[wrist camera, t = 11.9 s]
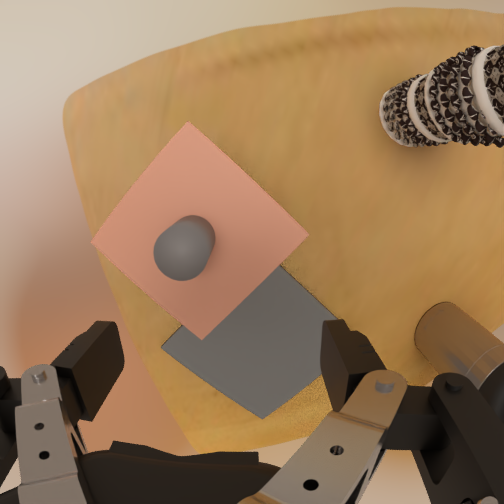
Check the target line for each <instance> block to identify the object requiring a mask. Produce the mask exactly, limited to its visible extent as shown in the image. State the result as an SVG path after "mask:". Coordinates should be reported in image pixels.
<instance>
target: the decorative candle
mask: <svg viewBox="0 0 504 504" xmlns="http://www.w3.org/2000/svg"><path fill="white" fill-rule="evenodd" d="M379 117H380V120H381V123H382V127H383V128H384V130H385V131H386V133H387V134H388V135H389V137H390V138H391V139H393V140H394V141H396V142H397V143H398V144H400V145H404V146H408V147H413V146H414V147H418V145H419V146H420V147H423V146H425V145H427V146H431V145H432V144H433V145H434V146H438V145H439V144H440V143H441V144H447V143H448V142H449V141H454V142H458V143H461V144H464V145H466V144H468V143H469V142H471V143H472V144H473V145H474V146H477V145H479V143H481V144H484V145H485V146H489V145H490V144H491V143H493V144H495V145H496V146H497V147H499V148H501V147H503V145H504V138H501V137H502V136H504V45H502V46H491V47H489V48H486V49H484V48H482V47H477V46H471V47H470V48H467V49H466V50H465V53H464V52H459V53H458V54H457V56H456V57H451V58H449V59H447V60H446V62H442V63H440V64H439V65H438V66H437V67H435V68H434V69H433V70H431V71H430V72H429V74H425V75H423V76H422V75H416V76H415V78H410V79H409V80H406V81H403V82H402V83H399V84H397V85H396V86H395V87H392V88H391V89H390V90H388V91H387V92H385V93H384V95H383V97H382V99H381V101H380V103H379Z"/></svg>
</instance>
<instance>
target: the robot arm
mask: <svg viewBox="0 0 504 504" xmlns="http://www.w3.org/2000/svg"><path fill="white" fill-rule="evenodd" d="M415 343H416V346H417V348H418V349H419V350H420V351H421V352H422V354H423V355H424V356H425V357H426V358H427V360H428V361H429V362H430V363H431V365H432V366H433V367H434V368H435V369H436V371H437V372H438V373H439V374H440V375H438V376H436V377H435V379H434V380H433V383H432V387H425V386H410V385H407V381H406V379H405V378H404V377H403V376H402V375H400V374H399V373H396V372H394V371H389V370H387V369H386V367H385V366H384V364H383V362H382V361H381V359H380V357H379V356H378V354H377V353H376V352H375V349H374V348H373V346H371V343H370V341H369V340H368V338H367V337H366V336H365V335H363V334H362V333H360V332H358V331H350V330H349V328H348V326H347V325H346V323H345V321H344V320H343V319H338V320H324V321H323V325H322V337H321V351H320V367H321V372H322V376H323V379H324V382H325V385H326V389H327V392H328V395H329V398H330V402H331V405H332V408H333V410H332V411H331V412H329V413H328V415H327V416H326V417H325V418H324V419H323V421H322V422H321V423H320V424H319V426H318V427H317V428H316V429H315V431H314V432H313V433H312V434H311V435H310V436H309V438H308V439H307V440H306V441H305V442H304V444H303V445H302V446H301V447H300V448H299V449H298V451H297V452H296V453H295V454H294V455H293V456H292V457H291V458H290V459H289V461H288V462H287V463H286V464H285V465H284V466H283V467H282V468H280V467H277V466H274V465H271V464H267V463H261V462H259V457H258V452H214V453H207V454H199V455H191V456H176V455H173V454H170V453H166V452H163V451H160V450H157V449H154V448H151V447H148V446H145V445H138V444H130V443H125V442H119V441H113V443H112V445H111V447H110V449H109V450H102V451H95V452H91V453H88V450H87V448H86V445H85V442H84V439H83V436H82V433H81V430H80V428H79V425H78V423H77V422H78V421H79V419H81V420H86V421H91V422H92V421H93V419H94V418H95V416H96V414H97V412H98V411H99V409H100V407H101V405H102V404H103V402H104V400H105V399H106V397H107V395H108V394H109V392H110V390H111V389H112V387H113V385H114V383H115V382H116V380H117V379H118V377H119V375H120V374H121V372H122V370H123V368H124V354H123V349H122V345H121V341H120V336H119V332H118V328H117V325H116V323H115V322H110V321H96V322H95V323H94V324H93V325H92V326H91V327H90V328H89V329H88V330H87V331H86V332H84V333H83V334H81V335H79V336H77V337H76V338H75V339H74V340H73V341H72V342H71V343H70V345H68V346H67V347H66V348H65V350H63V351H62V353H61V354H60V355H59V356H58V357H57V358H56V359H55V360H54V361H53V362H52V363H51V364H50V365H47V364H41V365H37V366H33V367H31V368H29V369H28V370H26V371H25V372H24V373H23V374H22V377H21V378H12V379H11V378H8V376H7V373H6V371H5V369H4V368H3V367H1V366H0V487H1V485H2V483H3V481H4V480H5V478H6V476H7V475H8V473H9V471H10V469H11V468H12V466H13V464H14V463H15V461H16V459H17V458H18V459H19V467H20V475H21V484H20V485H19V486H17V487H16V488H13V489H11V490H8V491H6V492H4V493H2V494H0V504H358V503H359V501H360V499H361V497H362V495H363V493H364V491H365V489H366V488H367V485H368V484H369V482H370V481H371V479H372V477H373V475H374V473H375V472H376V470H377V468H378V466H379V464H380V462H381V460H382V458H383V457H384V455H385V453H386V451H387V449H390V450H391V449H392V450H411V451H412V453H413V456H414V459H415V461H416V464H417V467H418V469H419V472H420V474H421V477H422V480H423V482H424V485H425V488H426V490H427V493H428V496H429V499H430V502H431V504H504V343H503V342H501V341H500V340H499V339H498V338H496V337H495V336H494V335H493V334H492V333H490V332H489V331H488V330H487V329H485V328H484V327H483V326H482V325H480V324H479V323H478V322H477V321H475V320H474V319H473V318H471V317H470V316H469V315H468V314H466V313H465V312H464V311H462V310H461V309H460V308H459V307H457V306H456V305H455V304H452V303H449V302H444V303H440V304H438V305H436V306H434V307H432V308H431V309H430V310H429V311H428V312H426V314H425V315H424V316H423V317H422V319H421V320H420V322H419V324H418V326H417V329H416V333H415Z"/></svg>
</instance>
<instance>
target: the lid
mask: <svg viewBox="0 0 504 504" xmlns="http://www.w3.org/2000/svg"><path fill="white" fill-rule="evenodd" d="M308 236H309V233H308V232H307V231H306V230H305V229H304V228H303V227H302V226H301V225H300V224H299V223H298V222H297V221H296V220H295V219H294V218H292V217H291V216H290V215H289V214H288V213H287V212H286V211H285V210H284V209H283V208H282V207H281V206H280V205H279V204H278V203H277V202H276V201H275V200H274V199H273V198H272V197H271V196H270V195H269V194H268V193H267V192H266V191H265V190H263V189H262V188H261V187H260V186H259V185H258V184H257V183H256V182H255V181H254V180H253V179H252V178H251V177H250V176H249V175H248V174H246V173H245V172H244V171H243V170H242V169H241V168H240V167H239V166H238V165H237V164H236V163H235V162H234V161H232V160H231V159H230V158H229V157H228V156H227V155H226V154H225V153H224V152H223V151H222V150H220V149H219V148H218V147H217V146H216V145H215V144H214V143H213V142H212V141H210V140H209V139H208V138H207V137H206V136H205V135H204V134H203V133H201V132H200V131H199V130H198V129H197V128H196V127H195V126H194V125H192V124H191V123H190V122H189V121H187V123H186V124H185V125H184V126H183V127H182V128H181V129H180V130H179V131H178V132H177V133H176V135H175V136H174V137H173V138H172V139H171V140H170V141H169V142H168V143H167V145H166V146H165V147H164V148H163V149H162V150H161V151H160V153H159V154H158V155H157V156H156V157H155V158H154V160H153V161H152V162H151V163H150V164H149V166H148V167H147V168H146V169H145V170H144V172H143V173H142V174H141V175H140V177H139V178H138V179H137V180H136V181H135V183H134V184H133V185H132V186H131V188H130V189H129V190H128V192H127V193H126V194H125V195H124V197H123V198H122V199H121V201H120V202H119V203H118V205H117V206H116V207H115V209H114V210H113V211H112V213H111V214H110V215H109V217H108V218H107V219H106V221H105V222H104V223H103V225H102V226H101V228H100V229H99V230H98V232H97V233H96V235H95V236H94V238H93V239H92V241H91V243H92V244H93V245H94V246H95V247H96V248H97V249H98V250H99V251H100V252H101V253H102V254H103V255H104V256H106V257H107V258H108V259H109V260H110V261H111V262H112V263H113V264H114V265H115V266H116V267H117V268H118V269H119V270H120V271H122V272H123V273H124V274H125V275H126V276H127V277H128V278H129V279H130V280H131V281H132V282H134V283H135V284H136V285H137V286H138V287H139V288H140V289H141V290H143V291H144V292H145V293H146V294H147V295H148V296H149V297H150V298H152V299H153V300H154V301H155V302H156V303H157V304H159V305H160V306H161V307H162V308H163V309H164V310H166V311H167V312H168V313H169V314H170V315H172V316H173V317H174V318H175V319H176V320H178V321H179V322H180V323H181V324H182V325H184V326H185V327H186V328H187V329H188V330H190V331H191V332H192V333H193V334H195V335H196V336H197V337H198V338H200V339H201V340H203V339H204V338H205V337H206V336H207V335H208V334H209V333H210V332H211V331H212V330H213V329H214V328H215V327H216V326H217V325H218V324H219V323H220V322H221V321H222V320H223V319H225V318H226V317H227V316H228V315H229V314H230V313H231V312H232V311H233V310H234V309H235V308H236V307H237V306H238V305H239V304H240V303H241V302H242V301H243V300H244V299H245V298H246V297H247V296H248V295H249V294H250V293H251V292H252V291H253V290H254V289H255V288H256V287H257V286H258V285H260V284H261V283H262V282H263V281H264V280H265V279H266V278H267V277H268V276H269V275H270V274H271V273H272V272H273V271H274V270H275V269H276V268H277V267H278V266H279V265H280V264H281V263H282V262H283V261H284V260H285V259H286V258H287V257H288V256H289V255H290V254H291V253H292V252H293V251H294V250H295V249H296V248H297V247H298V246H299V245H300V244H301V243H302V242H303V241H304V240H305V239H306V238H307V237H308Z"/></svg>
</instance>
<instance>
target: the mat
mask: <svg viewBox="0 0 504 504" xmlns="http://www.w3.org/2000/svg"><path fill="white" fill-rule="evenodd" d="M324 320H338V319H337V318H336V317H335V316H334V315H333V314H332V313H331V312H330V311H329V310H328V309H327V308H325V307H324V306H323V305H322V304H321V303H320V302H319V301H318V300H317V299H316V298H315V297H314V296H313V295H312V294H310V293H309V292H308V291H307V290H306V289H305V288H304V287H303V286H302V285H301V284H300V283H299V282H298V281H296V280H295V279H294V278H293V277H292V276H291V275H290V274H289V273H288V272H287V271H286V270H285V269H284V268H282V267H281V266H280V265H279V266H278V267H277V268H276V269H275V270H274V271H273V272H272V273H271V274H270V275H269V276H268V277H267V278H266V279H265V280H264V281H263V282H262V283H261V284H260V285H258V286H257V287H256V288H255V289H254V290H253V291H252V292H251V293H250V294H249V295H248V296H247V297H246V298H245V299H244V300H243V301H242V302H241V303H240V304H239V305H238V306H237V307H236V308H235V309H234V310H233V311H232V312H231V313H230V314H229V315H228V316H227V317H226V318H225V319H223V320H222V321H221V322H220V323H219V324H218V325H217V326H216V327H215V328H214V329H213V330H212V331H211V332H210V333H209V334H208V335H207V336H206V337H205V338H204V339H203V340H201V339H200V338H198V337H197V336H196V335H195V334H193V333H192V332H191V331H190V330H188V329H187V328H186V327H185V326H184V325H182V326H181V327H180V328H179V329H178V330H177V331H176V332H175V333H174V334H173V335H172V336H171V337H170V338H169V339H168V340H167V341H166V342H165V343H164V344H163V345H162V346H161V348H162V349H163V350H164V351H165V352H167V353H168V354H169V355H171V356H172V357H173V358H174V359H176V360H177V361H178V362H180V363H181V364H182V365H184V366H185V367H186V368H188V369H189V370H190V371H192V372H193V373H195V374H196V375H197V376H199V377H200V378H201V379H203V380H204V381H206V382H207V383H208V384H210V385H211V386H213V387H214V388H216V389H217V390H218V391H220V392H221V393H223V394H224V395H226V396H227V397H229V398H230V399H232V400H233V401H235V402H236V403H238V404H239V405H241V406H242V407H244V408H245V409H247V410H248V411H250V412H252V413H253V414H255V415H256V416H258V417H260V418H261V419H264V418H265V417H266V416H268V415H269V414H271V413H272V412H273V411H275V410H276V409H277V408H279V407H280V406H281V405H283V404H284V403H285V402H287V401H288V400H289V399H291V398H292V397H293V396H295V395H296V394H297V393H299V392H300V391H301V390H302V389H304V388H305V387H306V386H307V385H309V384H310V383H311V382H313V381H314V380H315V379H316V378H317V377H319V376H320V375H321V374H322V372H321V367H320V351H321V337H322V325H323V321H324Z"/></svg>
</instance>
